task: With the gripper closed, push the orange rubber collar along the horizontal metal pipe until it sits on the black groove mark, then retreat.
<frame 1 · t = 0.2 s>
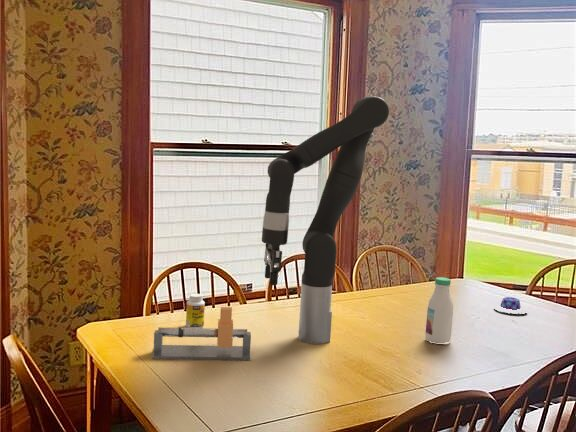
hand: (270, 281, 182), 18 cm above the table, tool pointing down, fingers open, 8 cm apart
pudding: (509, 312, 232), on the table
pipe stand: (202, 353, 169), on the table
milk bottle: (437, 342, 191), on the table
supplement bottle: (194, 327, 192), on the table
collar: (225, 326, 169), point 8 cm above the table, slide at -6.0 cm
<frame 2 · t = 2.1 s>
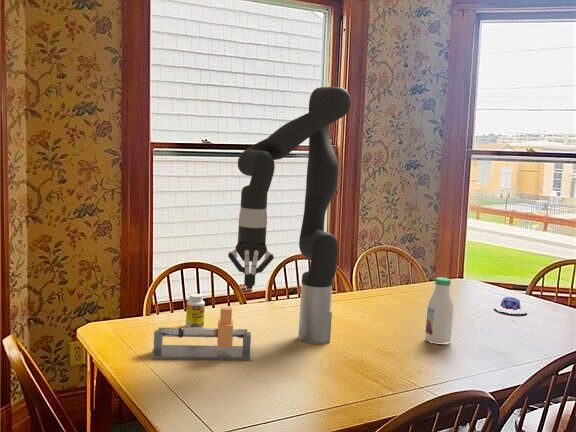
hand: (249, 287, 168), 19 cm above the table, tool pointing down, fingers closed
nothing on the table moved.
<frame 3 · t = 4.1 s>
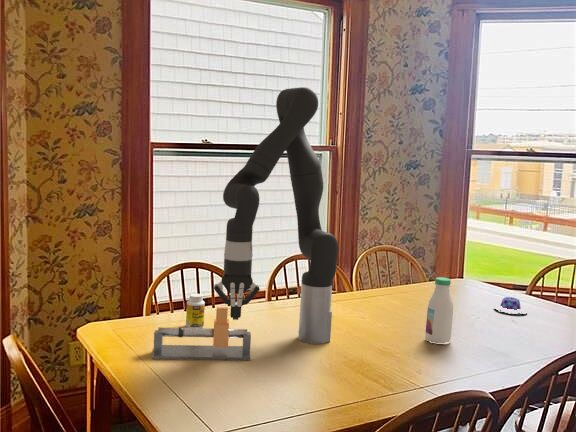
hand: (235, 318, 169), 10 cm above the table, tool pointing down, fingers closed
collar: (221, 326, 169), point 8 cm above the table, slide at -4.9 cm, touching gripper
everything else where it was.
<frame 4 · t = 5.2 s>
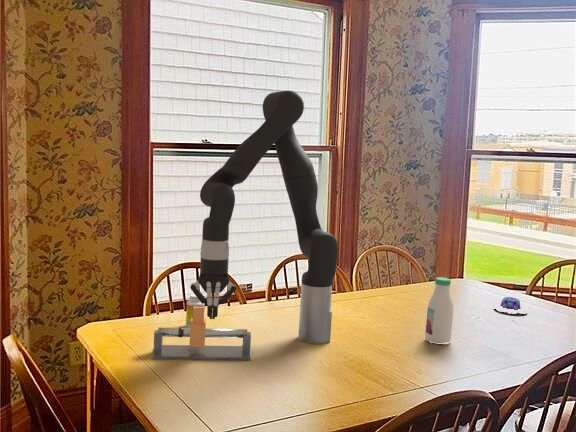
hand: (212, 318, 168), 10 cm above the table, tool pointing down, fingers closed
collar: (198, 325, 168), point 8 cm above the table, slide at 1.5 cm, touching gripper
everything else where it was.
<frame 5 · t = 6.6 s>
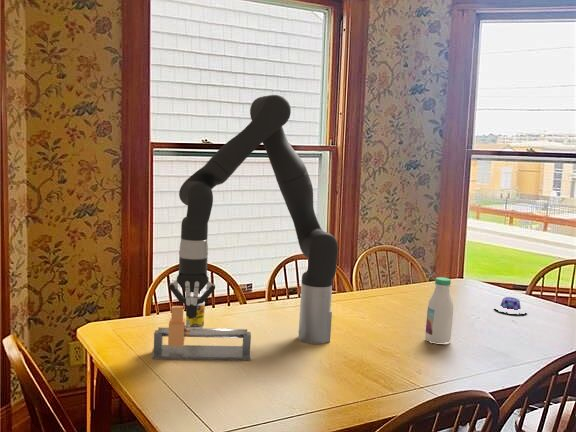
hand: (191, 317, 167), 10 cm above the table, tool pointing down, fingers closed
collar: (177, 325, 167), point 8 cm above the table, slide at 7.1 cm, touching gripper
everything else where it was.
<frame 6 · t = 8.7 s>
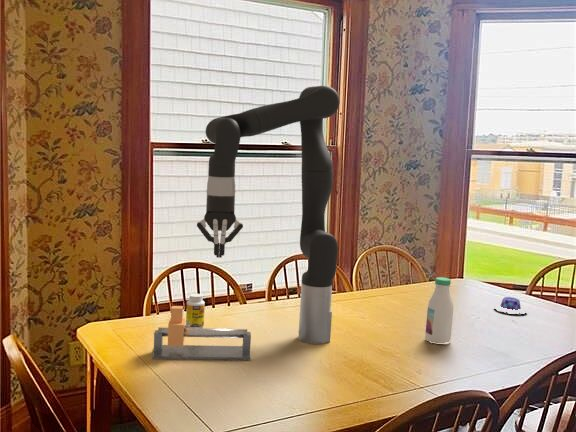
hand: (218, 257, 167), 27 cm above the table, tool pointing down, fingers closed
collar: (176, 325, 167), point 8 cm above the table, slide at 7.2 cm
everything else where it was.
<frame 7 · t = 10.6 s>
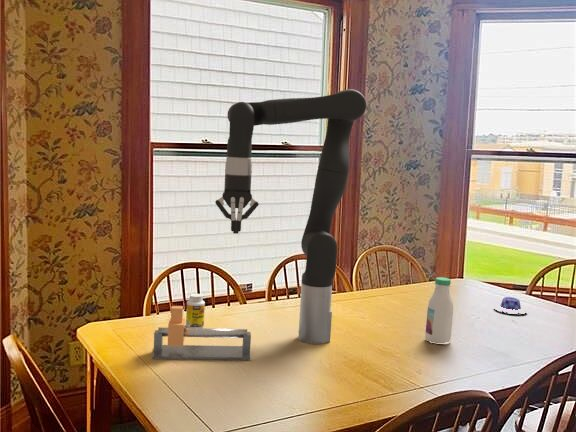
hand: (235, 233, 178), 32 cm above the table, tool pointing down, fingers closed
at the end: collar slide at 7.2 cm; collar touching nothing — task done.
